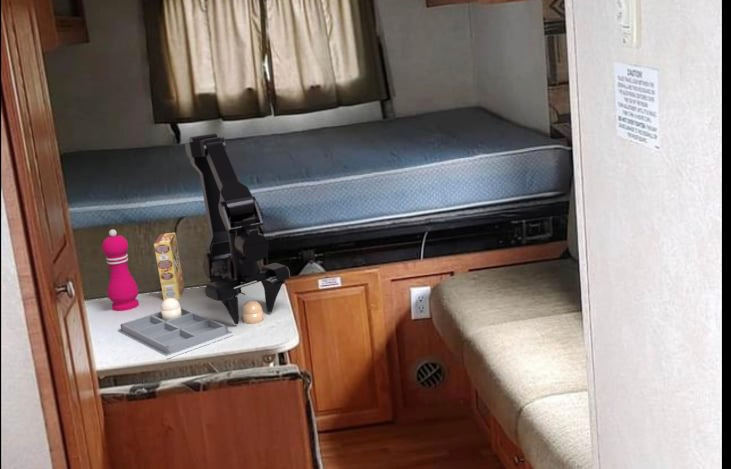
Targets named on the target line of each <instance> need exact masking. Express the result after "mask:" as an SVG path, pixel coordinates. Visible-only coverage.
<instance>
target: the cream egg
mask: <svg viewBox="0 0 731 469" xmlns="http://www.w3.org/2000/svg"><path fill="white" fill-rule="evenodd" d="M181 307H182V306H181V304H180V301H179V299H177V300H176V299H174V298H167V299H165V300H164V299H163V301H162V302H161V304H160V312H161V313H162V319H163V320H164V321H168V320H171V319H174V318H177V317H180V316H182V312H181Z"/></svg>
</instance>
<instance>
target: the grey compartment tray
mask: <svg viewBox="0 0 731 469" xmlns="http://www.w3.org/2000/svg"><path fill="white" fill-rule="evenodd" d="M181 312H182V316H180V317H177V318H174V319H171V320H168V321H164V320H163V319H162V313H161V311H159V312H155V313H151V314H148V315H145V316H142V317H139V318H135V319H134V320H130V321H126V322H124V323H121V324H120V325H119V326H120V329H119V330H117V332H118V333H120V334H122V335H124V336H125V337H128V338H129V339H132V340H133V341H136V342H137V343H139V344H142V345H144V346H145V347H148V348H150V349H151V350H153V351H155V352H156V353H160V354H161V355H163V356H165V357H167V356H170V355H172V354H173V355H174V354H176V353H179V352H182V351H185V350H187V349H190V348H193V347H196V346H199V345H201V344H204V343H207V342H210V341H213V340H216V339H218V340H217V342H219V341H222V340H226V339H228V338H230V337H234V335H230V334H232V333H233V331H230V330H229V328H228V326H227V324H223V323H221V322H218V321H215V320H214V319H211V318H209V317H206V316H204V315H202V314H199V313H197V312H194V311H192V310H189V309H187V308H185V307H183V306H181ZM227 335H230V336H227ZM224 336H227V337H225V338H222V339H219V338H221V337H224ZM211 343H212V344H214V343H215V341H213V342H211ZM211 343H207V344H205V345H202V346H199V347H197V348H194V349H192V350H187V351H186V352H182V353H179V354H177V355H175V356H171V357H169V358H167V360H170V359H172V358H176V357H177V356H180V355H183V354H186V353H189V352H193V351H194V350H197V349H200V348H202V347H203V348H204V347H205V346H208V345H211Z"/></svg>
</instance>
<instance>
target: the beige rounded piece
mask: <svg viewBox="0 0 731 469" xmlns="http://www.w3.org/2000/svg"><path fill="white" fill-rule="evenodd" d="M242 318H243V319H242V320H243V323H244V324H245V325H255V324H260V323H262V322H263V321H264V312H263V306H262V305H261V303H259V302H257V301H255V300H251V301H250V300H249V301H247V302H246V303H245V304H244V305H243V307H242ZM260 326H262V325H259V327H260Z"/></svg>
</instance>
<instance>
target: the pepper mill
mask: <svg viewBox="0 0 731 469" xmlns="http://www.w3.org/2000/svg"><path fill="white" fill-rule="evenodd" d="M108 234H109V236H107V237H106V238H105V239H103V241H102V243H101V249H102V253H103V254H104V255H105V256H106V258H105V260H106V263H107V265H109V271H110V276H109V282H108V285H107V298H108V299H109V300H110V301H111V302H113V303H111V309H112V311H114V312H125V311H130V310H133V309H137V307H138V306H139V305H140V303H139V300H138V299H137V297H138V295H139V292H140V289H139V286H138V284H137V282H136V281H135V278H133V276H132V275H131V272H130V271H129V266H128V260H129V257H128V256H129V255H128V253H127V251H128V249H129V243H128V240H127V239H126V237H124V236H123V235H121V234H120V235H117V234H118V233H117V230H115V229H113V228H112V229H110V230H109V232H108Z"/></svg>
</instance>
